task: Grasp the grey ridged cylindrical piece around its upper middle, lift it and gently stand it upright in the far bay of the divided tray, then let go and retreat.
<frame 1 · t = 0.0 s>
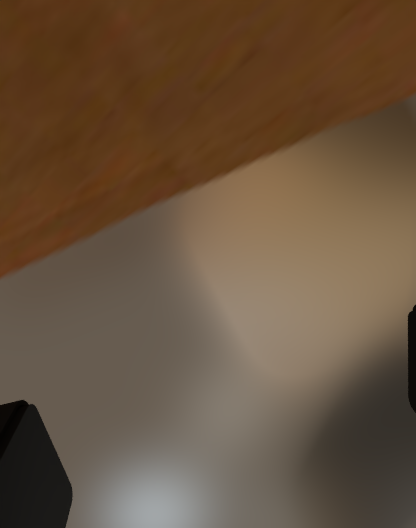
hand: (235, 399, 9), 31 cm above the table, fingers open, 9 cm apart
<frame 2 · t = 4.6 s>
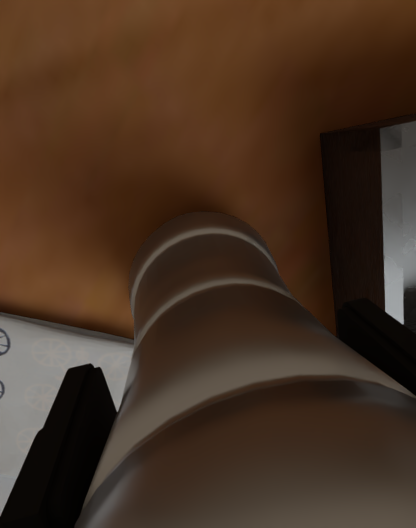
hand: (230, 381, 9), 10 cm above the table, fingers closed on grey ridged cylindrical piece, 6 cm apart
grey ridged cylindrical piece: (196, 264, 19), on the table, touching gripper
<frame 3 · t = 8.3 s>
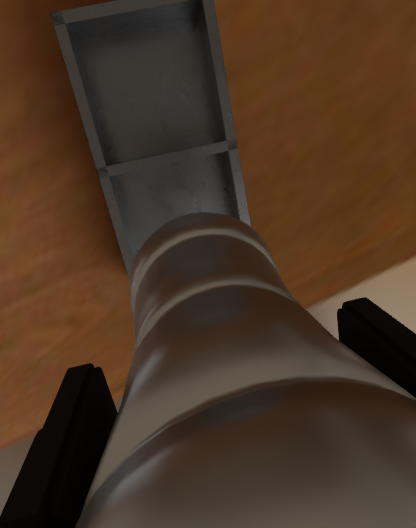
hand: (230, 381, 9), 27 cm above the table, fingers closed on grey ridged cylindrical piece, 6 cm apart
divided tray: (167, 157, 33), on the table
grey ridged cylindrical piece: (196, 264, 19), point 17 cm above the table, touching gripper
when the fingers open (12 cm above the table, at t = 11.7 s): grey ridged cylindrical piece drops 1 cm, resting on divided tray.
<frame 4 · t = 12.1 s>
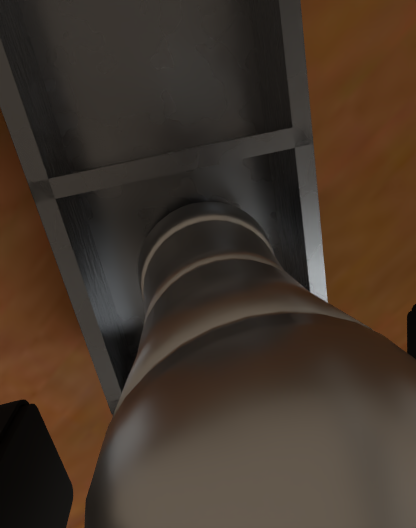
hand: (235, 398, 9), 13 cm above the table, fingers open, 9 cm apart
divided tray: (171, 159, 19), on the table
grey ridged cylindrical piece: (199, 252, 20), point 1 cm above the table, touching divided tray
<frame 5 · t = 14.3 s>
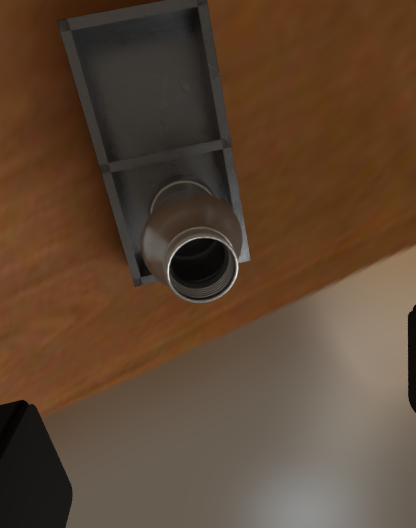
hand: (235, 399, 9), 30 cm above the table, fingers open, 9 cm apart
divided tray: (165, 154, 35), on the table
grey ridged cylindrical piece: (181, 206, 36), point 1 cm above the table, touching divided tray
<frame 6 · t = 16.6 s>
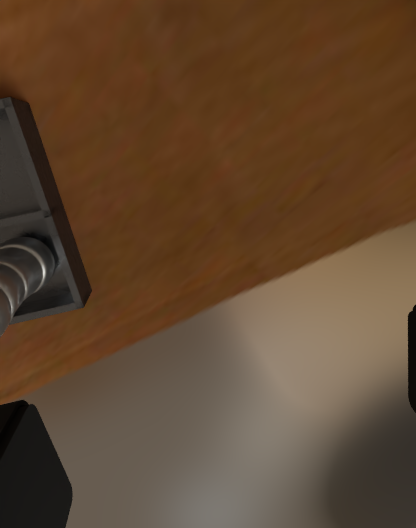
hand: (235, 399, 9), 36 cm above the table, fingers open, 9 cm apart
divided tray: (13, 216, 41), on the table
grey ridged cylindrical piece: (30, 258, 42), point 1 cm above the table, touching divided tray
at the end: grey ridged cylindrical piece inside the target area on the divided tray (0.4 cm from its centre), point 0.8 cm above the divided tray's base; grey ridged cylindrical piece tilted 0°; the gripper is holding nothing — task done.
